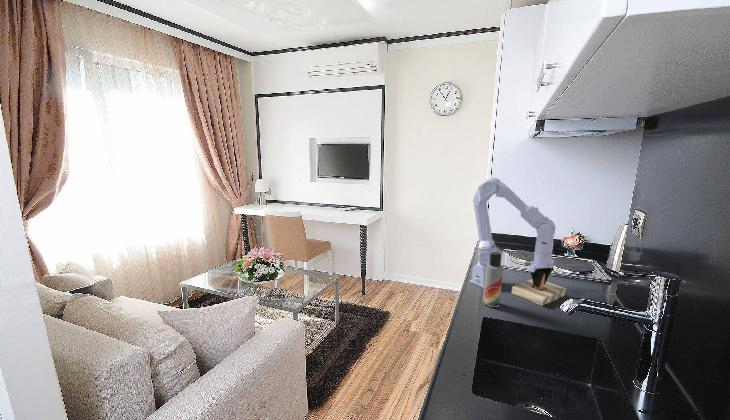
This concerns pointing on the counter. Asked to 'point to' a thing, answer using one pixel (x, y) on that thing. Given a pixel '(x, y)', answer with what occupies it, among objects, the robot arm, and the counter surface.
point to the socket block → (538, 292)
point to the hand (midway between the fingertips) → (539, 285)
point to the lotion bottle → (493, 280)
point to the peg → (541, 284)
